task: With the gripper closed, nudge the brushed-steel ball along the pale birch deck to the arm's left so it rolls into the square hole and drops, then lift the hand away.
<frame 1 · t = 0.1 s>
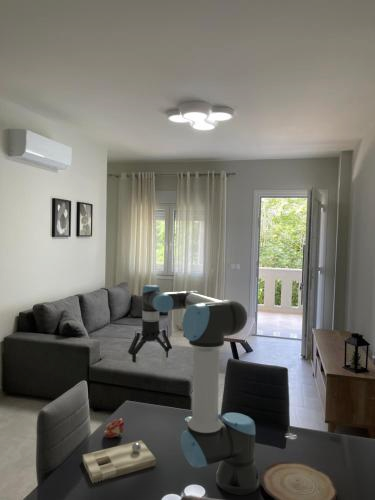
hand: (150, 367, 176), 28 cm above the table, fingers open, 13 cm apart
deck: (118, 463, 150), on the table
ball: (136, 447, 153), point 4 cm above the table, touching deck
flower: (113, 437, 169), on the table
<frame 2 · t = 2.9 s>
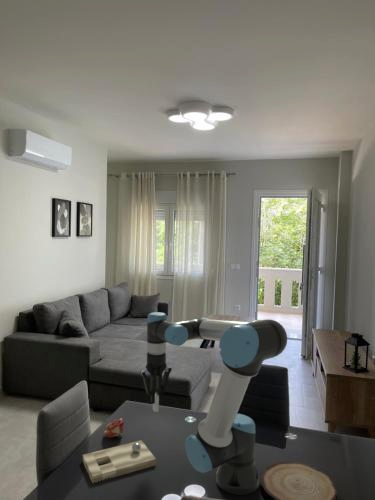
hand: (155, 410, 157), 17 cm above the table, fingers closed
nothing on the table moved.
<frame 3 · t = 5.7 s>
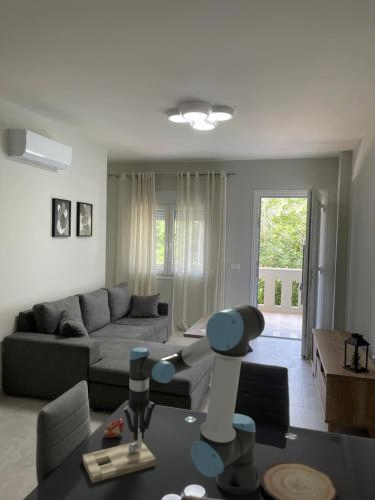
hand: (138, 447, 154), 4 cm above the table, fingers closed
ball: (132, 448, 152), point 4 cm above the table, tilted 43°, touching deck, gripper
everything else where it was.
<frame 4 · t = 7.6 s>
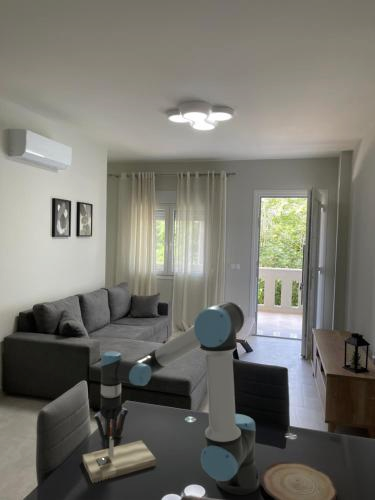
hand: (110, 455, 148), 4 cm above the table, fingers closed
ball: (102, 463, 147), point 2 cm above the table, tilted 78°
everything else where it was.
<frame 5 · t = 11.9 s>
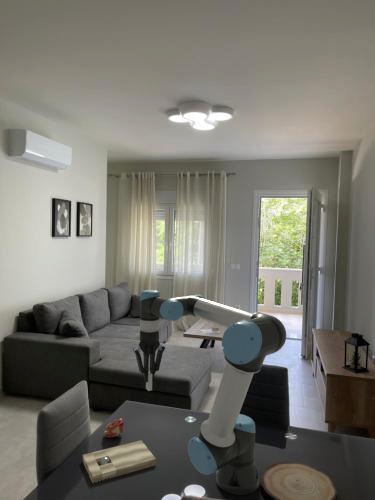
hand: (148, 389, 155), 26 cm above the table, fingers closed
ball: (104, 462, 147), point 2 cm above the table, tilted 42°
everything else where it was.
at the end: ball 0.6 cm from the target spot in the deck, point 1.7 cm above the deck's base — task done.
